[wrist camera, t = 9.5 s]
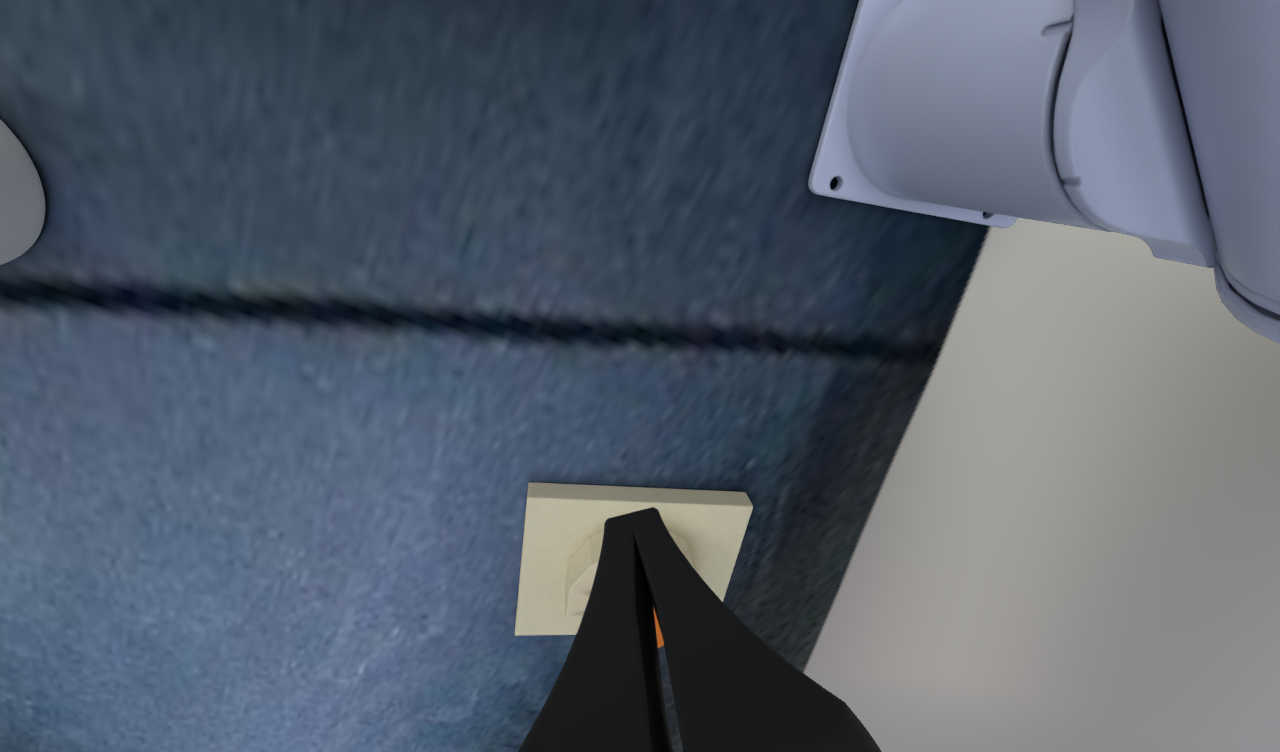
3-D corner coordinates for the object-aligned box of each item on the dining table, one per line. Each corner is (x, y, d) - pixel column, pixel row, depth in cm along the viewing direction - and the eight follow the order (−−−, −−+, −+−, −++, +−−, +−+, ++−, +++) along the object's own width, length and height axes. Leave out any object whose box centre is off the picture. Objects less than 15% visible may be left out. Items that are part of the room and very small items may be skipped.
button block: (745, 491, 26) (767, 532, 23) (707, 615, 29) (722, 662, 26) (528, 481, 23) (524, 525, 21) (516, 616, 27) (511, 669, 24)
